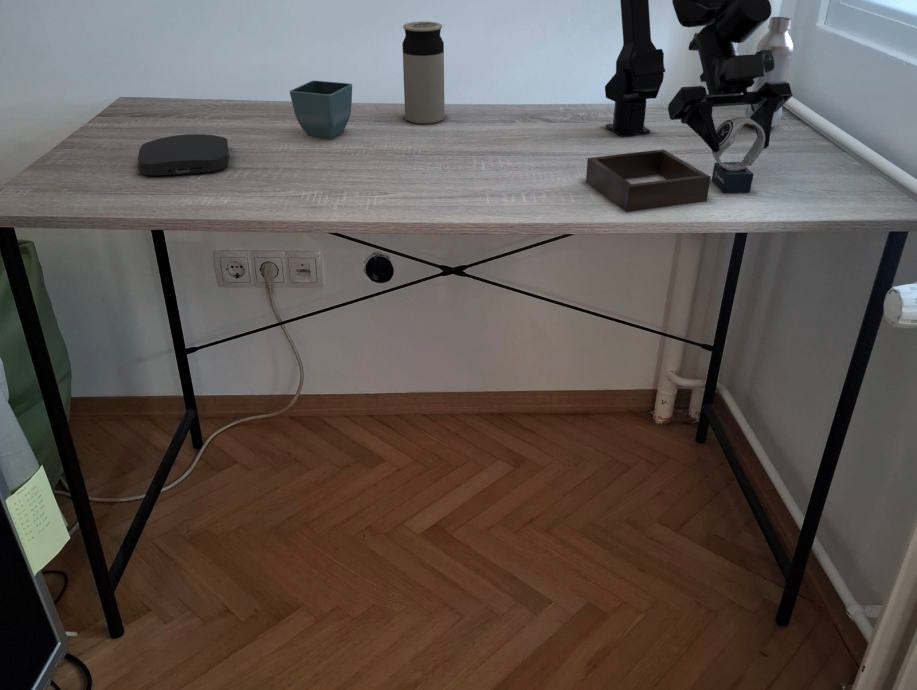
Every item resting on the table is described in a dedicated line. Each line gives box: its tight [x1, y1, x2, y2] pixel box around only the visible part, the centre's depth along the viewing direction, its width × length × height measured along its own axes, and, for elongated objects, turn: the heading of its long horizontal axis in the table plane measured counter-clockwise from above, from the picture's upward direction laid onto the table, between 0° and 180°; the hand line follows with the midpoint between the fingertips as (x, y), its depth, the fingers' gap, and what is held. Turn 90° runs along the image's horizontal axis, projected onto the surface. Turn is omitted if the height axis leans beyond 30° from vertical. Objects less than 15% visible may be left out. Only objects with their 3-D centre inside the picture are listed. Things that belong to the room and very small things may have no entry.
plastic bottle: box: [745, 16, 794, 128], centre depth 157 cm, size 6×7×20 cm
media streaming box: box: [137, 133, 230, 176], centre depth 144 cm, size 15×15×3 cm
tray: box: [585, 149, 712, 213], centre depth 132 cm, size 14×14×4 cm
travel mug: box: [402, 21, 446, 125], centre depth 163 cm, size 8×8×18 cm
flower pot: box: [289, 80, 353, 140], centre depth 156 cm, size 9×9×9 cm
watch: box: [710, 116, 765, 194], centre depth 131 cm, size 6×8×11 cm
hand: (741, 149), depth 129 cm, fingers closed on watch, 8 cm apart
